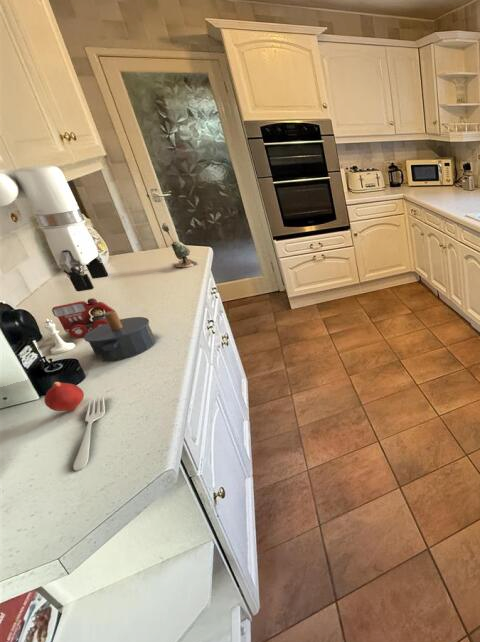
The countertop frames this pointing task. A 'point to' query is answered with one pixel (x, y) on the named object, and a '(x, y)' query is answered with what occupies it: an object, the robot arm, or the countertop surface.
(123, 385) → the countertop surface
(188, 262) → the plant with pod
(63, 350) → the chess piece
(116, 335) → the lid
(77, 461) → the fork
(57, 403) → the onion
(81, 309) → the toy fire truck
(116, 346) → the pan
